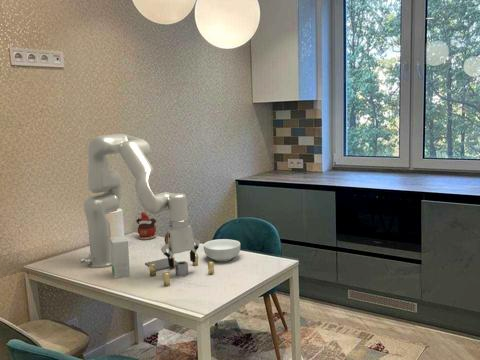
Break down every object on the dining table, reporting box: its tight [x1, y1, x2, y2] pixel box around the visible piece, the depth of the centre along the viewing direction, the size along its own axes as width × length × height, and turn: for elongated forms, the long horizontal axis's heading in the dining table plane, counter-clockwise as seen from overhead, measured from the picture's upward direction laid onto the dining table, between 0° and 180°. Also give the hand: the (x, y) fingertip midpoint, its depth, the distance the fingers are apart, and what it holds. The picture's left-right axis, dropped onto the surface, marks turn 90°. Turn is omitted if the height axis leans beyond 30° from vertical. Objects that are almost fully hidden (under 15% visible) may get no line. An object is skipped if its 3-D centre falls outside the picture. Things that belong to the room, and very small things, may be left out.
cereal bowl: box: [203, 238, 241, 262], centre depth 212 cm, size 17×17×7 cm
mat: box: [144, 257, 178, 272], centre depth 208 cm, size 12×12×1 cm
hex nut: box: [174, 260, 189, 278], centre depth 194 cm, size 4×5×5 cm
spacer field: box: [148, 252, 215, 287], centre depth 195 cm, size 22×19×5 cm
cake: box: [135, 207, 157, 240], centre depth 252 cm, size 11×9×18 cm
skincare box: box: [110, 235, 131, 279], centre depth 196 cm, size 8×7×16 cm
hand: (182, 264), depth 193 cm, fingers open, 9 cm apart
